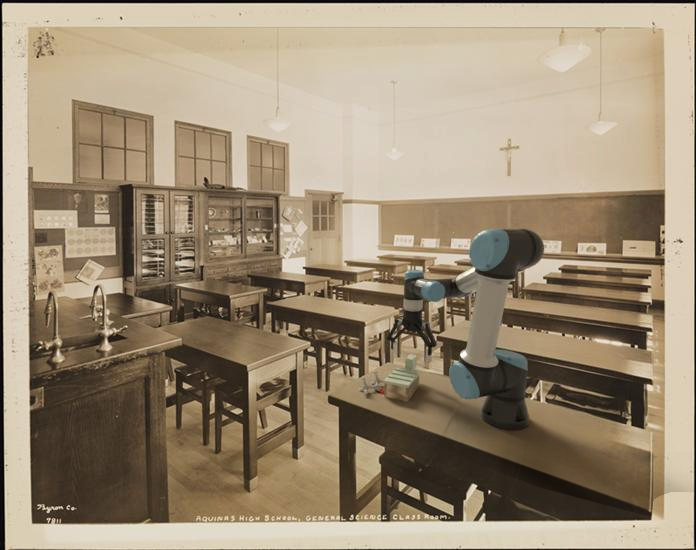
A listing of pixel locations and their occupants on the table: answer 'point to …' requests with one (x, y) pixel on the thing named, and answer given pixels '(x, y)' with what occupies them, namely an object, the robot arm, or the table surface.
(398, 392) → the tub
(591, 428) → the table surface
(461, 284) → the robot arm
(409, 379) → the ridged block with tab
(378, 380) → the molecular model
